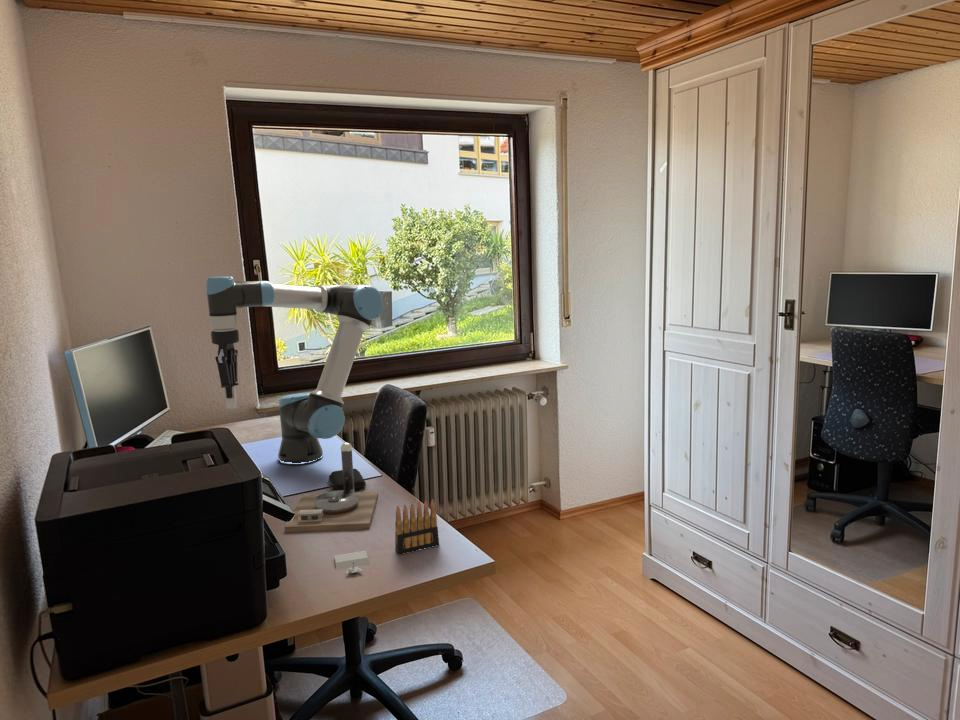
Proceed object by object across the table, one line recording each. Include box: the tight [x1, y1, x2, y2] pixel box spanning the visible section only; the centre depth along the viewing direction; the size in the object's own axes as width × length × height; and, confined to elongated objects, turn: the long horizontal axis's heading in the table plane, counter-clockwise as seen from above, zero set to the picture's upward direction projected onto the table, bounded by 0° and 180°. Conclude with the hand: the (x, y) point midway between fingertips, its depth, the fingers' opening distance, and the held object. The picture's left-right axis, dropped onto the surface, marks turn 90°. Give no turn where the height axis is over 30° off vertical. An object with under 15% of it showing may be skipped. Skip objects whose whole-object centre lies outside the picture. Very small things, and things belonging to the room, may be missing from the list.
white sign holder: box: [333, 550, 370, 575], centre depth 150 cm, size 7×12×2 cm, turn 17°
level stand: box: [284, 491, 379, 533], centre depth 181 cm, size 22×22×4 cm
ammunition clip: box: [394, 498, 440, 556], centre depth 157 cm, size 11×2×12 cm, turn 114°
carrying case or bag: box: [328, 468, 367, 491], centre depth 203 cm, size 11×3×15 cm
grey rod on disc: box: [314, 442, 359, 514], centre depth 182 cm, size 15×12×16 cm
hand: (232, 407), depth 194 cm, fingers closed
